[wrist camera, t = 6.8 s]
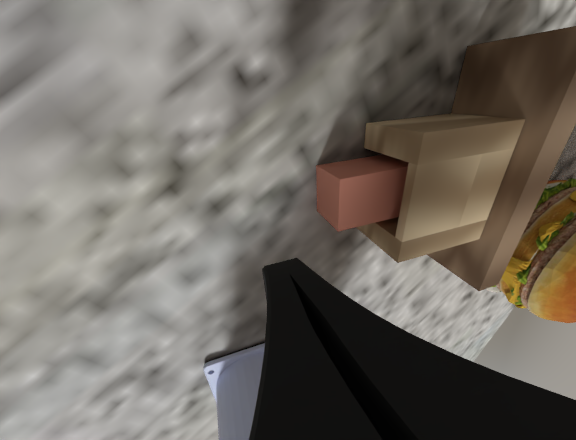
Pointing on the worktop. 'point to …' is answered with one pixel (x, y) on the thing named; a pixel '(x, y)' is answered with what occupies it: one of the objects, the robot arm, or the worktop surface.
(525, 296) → the burger
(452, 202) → the block
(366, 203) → the brick
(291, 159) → the worktop surface
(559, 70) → the wall
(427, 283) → the worktop surface
